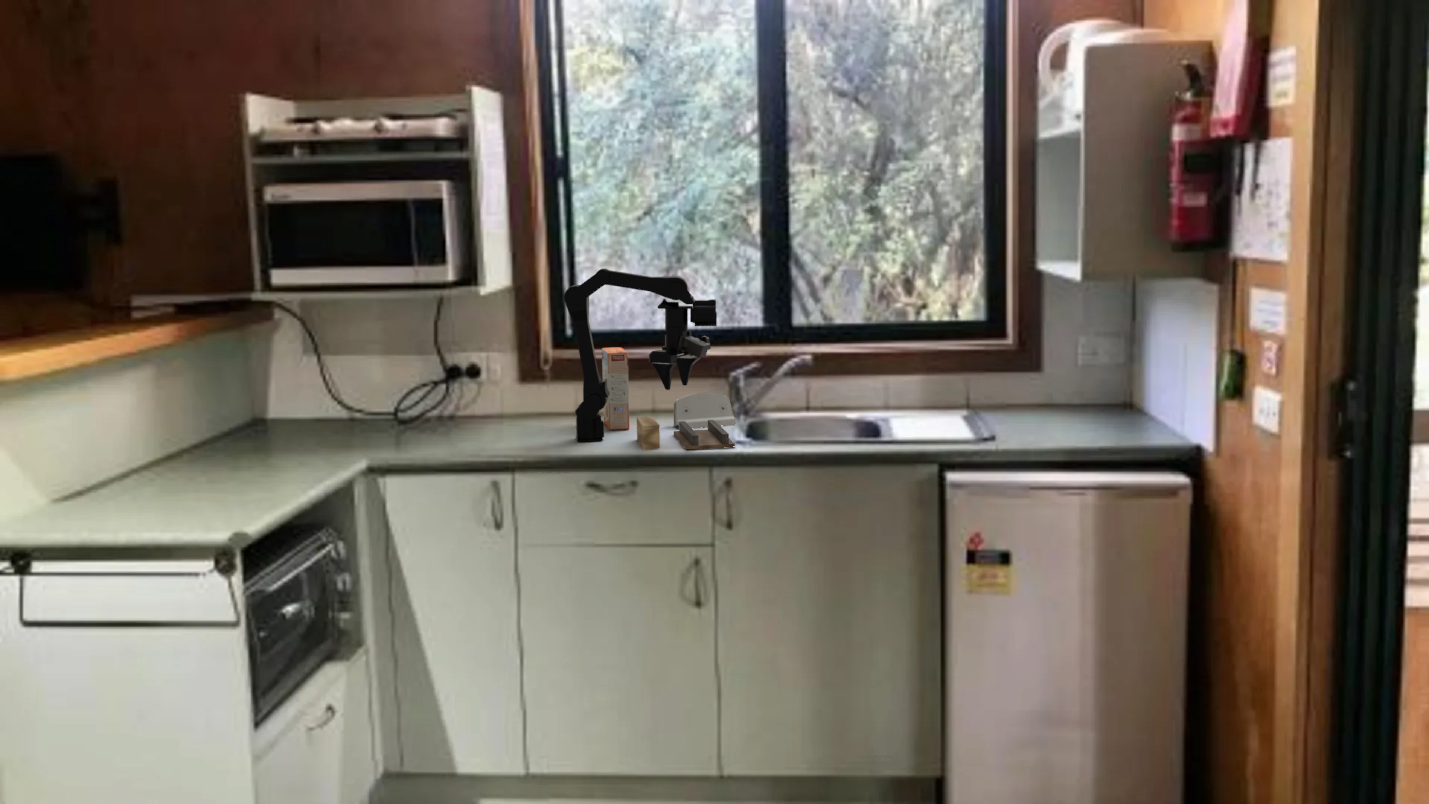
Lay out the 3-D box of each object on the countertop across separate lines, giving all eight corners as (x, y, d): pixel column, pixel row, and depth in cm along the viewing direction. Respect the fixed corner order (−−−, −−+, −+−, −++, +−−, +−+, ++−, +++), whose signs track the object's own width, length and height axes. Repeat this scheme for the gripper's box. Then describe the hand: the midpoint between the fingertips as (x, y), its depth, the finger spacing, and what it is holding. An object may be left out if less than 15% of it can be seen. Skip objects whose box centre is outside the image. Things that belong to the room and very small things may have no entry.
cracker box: (631, 429, 355) (628, 351, 351) (608, 431, 353) (605, 352, 350) (624, 421, 368) (622, 346, 365) (603, 422, 367) (600, 347, 364)
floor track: (686, 450, 324) (686, 436, 323) (673, 434, 345) (673, 421, 345) (735, 447, 326) (734, 433, 325) (719, 432, 347) (719, 419, 347)
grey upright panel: (678, 429, 353) (673, 392, 355) (673, 432, 358) (668, 396, 360) (737, 425, 359) (732, 388, 361) (732, 428, 363) (727, 392, 365)
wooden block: (643, 450, 326) (643, 426, 325) (637, 440, 340) (636, 417, 339) (659, 449, 327) (659, 425, 326) (652, 439, 341) (652, 416, 340)
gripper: (687, 331, 325) (687, 394, 327) (721, 324, 341) (720, 385, 344) (647, 328, 330) (647, 391, 332) (682, 322, 346) (682, 382, 348)
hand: (676, 387), depth 339 cm, fingers open, 9 cm apart
